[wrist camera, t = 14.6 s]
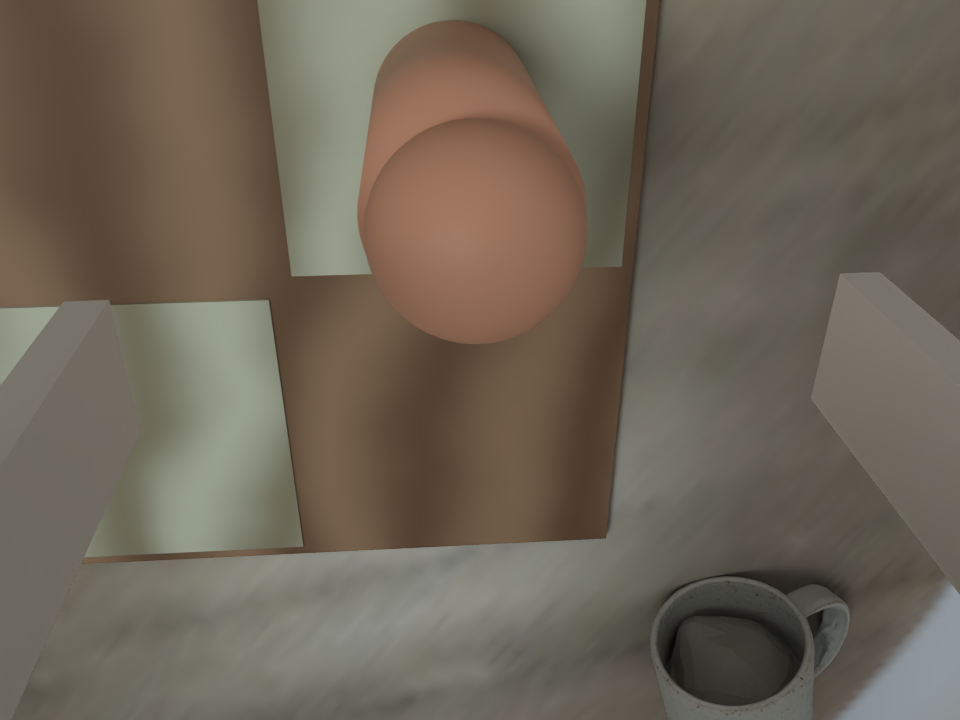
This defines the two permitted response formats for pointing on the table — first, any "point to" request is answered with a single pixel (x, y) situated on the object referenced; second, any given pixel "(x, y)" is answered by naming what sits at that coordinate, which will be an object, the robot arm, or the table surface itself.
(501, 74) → the pawn
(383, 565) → the table surface
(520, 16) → the game board
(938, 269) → the table surface
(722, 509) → the table surface
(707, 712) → the ceramic mug
